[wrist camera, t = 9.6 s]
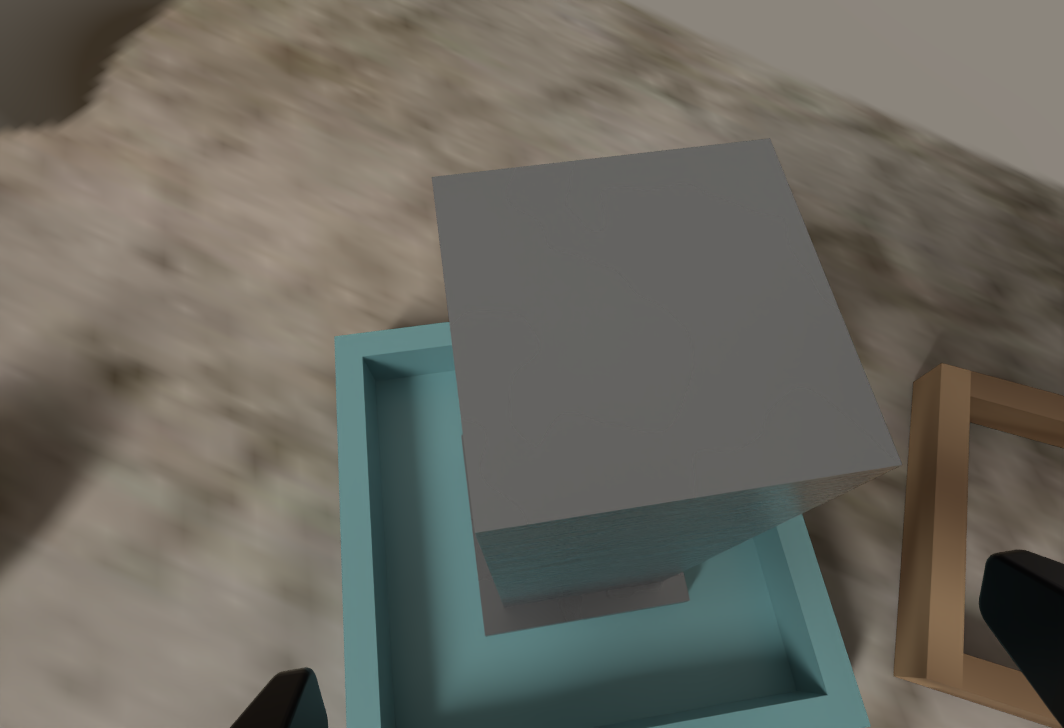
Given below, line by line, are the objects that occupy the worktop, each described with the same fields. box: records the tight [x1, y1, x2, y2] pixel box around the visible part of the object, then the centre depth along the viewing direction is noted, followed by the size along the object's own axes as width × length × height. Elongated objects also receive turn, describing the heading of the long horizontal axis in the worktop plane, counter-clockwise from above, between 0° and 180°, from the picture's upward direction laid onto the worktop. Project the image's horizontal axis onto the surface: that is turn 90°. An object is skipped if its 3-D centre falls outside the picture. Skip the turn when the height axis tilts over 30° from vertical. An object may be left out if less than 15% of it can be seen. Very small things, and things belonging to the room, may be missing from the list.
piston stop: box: [432, 138, 902, 637], centre depth 13 cm, size 6×6×13 cm
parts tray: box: [335, 322, 871, 728], centre depth 18 cm, size 12×12×2 cm
